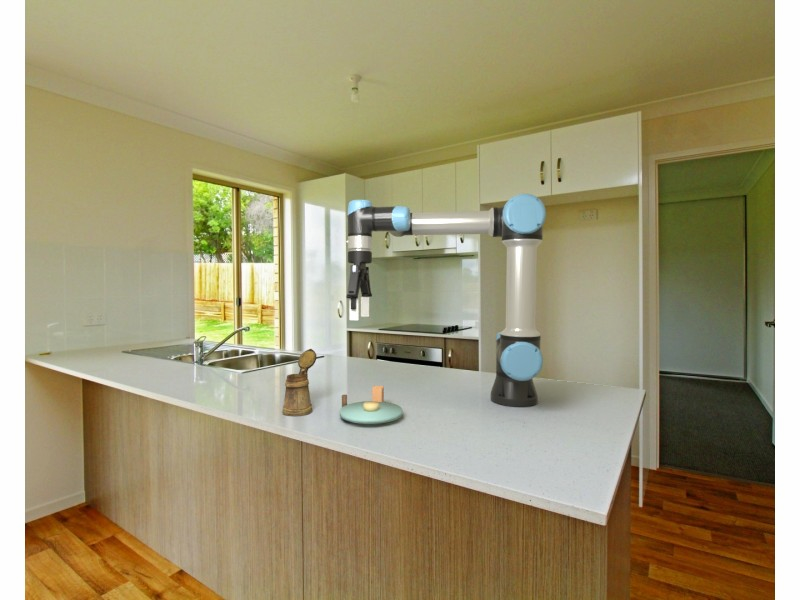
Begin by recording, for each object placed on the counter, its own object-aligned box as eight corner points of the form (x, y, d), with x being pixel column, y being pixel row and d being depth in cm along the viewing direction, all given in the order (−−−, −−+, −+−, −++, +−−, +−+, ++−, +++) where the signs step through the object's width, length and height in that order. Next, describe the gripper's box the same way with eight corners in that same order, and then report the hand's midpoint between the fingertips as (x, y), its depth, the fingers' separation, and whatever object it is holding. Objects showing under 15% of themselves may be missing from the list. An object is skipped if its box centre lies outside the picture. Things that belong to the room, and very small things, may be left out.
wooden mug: (324, 405, 139) (324, 349, 138) (303, 417, 126) (302, 356, 125) (299, 402, 142) (299, 347, 141) (276, 414, 129) (275, 354, 128)
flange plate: (407, 403, 136) (407, 386, 136) (397, 425, 115) (397, 405, 115) (351, 401, 139) (351, 384, 139) (331, 422, 118) (331, 403, 118)
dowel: (347, 410, 132) (347, 394, 132) (346, 412, 131) (346, 396, 131) (342, 410, 133) (342, 394, 133) (341, 412, 131) (341, 395, 131)
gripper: (358, 253, 149) (358, 315, 150) (336, 247, 124) (336, 321, 125) (379, 253, 148) (379, 315, 149) (361, 247, 123) (361, 322, 124)
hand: (360, 318), depth 137 cm, fingers open, 13 cm apart
